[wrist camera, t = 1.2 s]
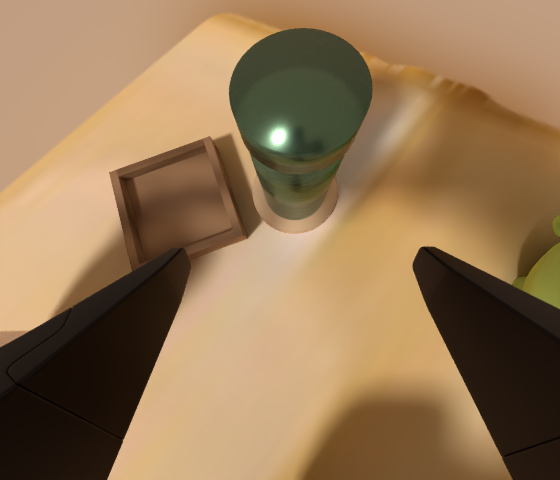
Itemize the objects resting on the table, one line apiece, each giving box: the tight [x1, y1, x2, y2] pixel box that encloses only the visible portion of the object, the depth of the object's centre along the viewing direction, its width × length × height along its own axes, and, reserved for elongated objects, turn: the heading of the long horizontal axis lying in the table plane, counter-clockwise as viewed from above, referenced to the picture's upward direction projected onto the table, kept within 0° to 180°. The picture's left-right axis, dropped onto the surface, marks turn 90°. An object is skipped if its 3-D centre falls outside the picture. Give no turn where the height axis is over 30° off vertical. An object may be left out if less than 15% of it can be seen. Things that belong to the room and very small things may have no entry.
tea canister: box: [229, 28, 372, 220], centre depth 16 cm, size 7×7×12 cm
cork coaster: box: [252, 175, 338, 233], centre depth 22 cm, size 9×9×1 cm
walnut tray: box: [109, 136, 248, 271], centre depth 22 cm, size 11×11×2 cm
